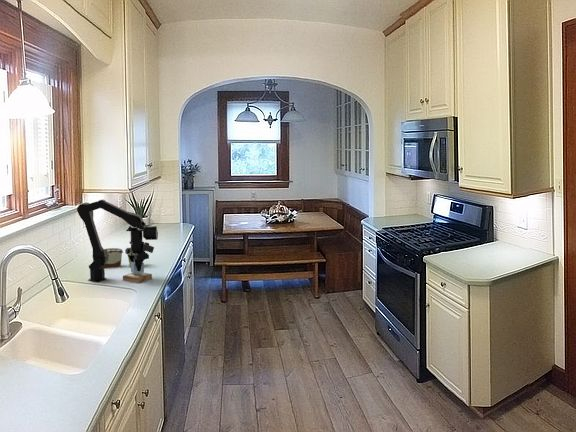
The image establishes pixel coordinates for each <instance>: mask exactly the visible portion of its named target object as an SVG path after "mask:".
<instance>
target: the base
mask: <svg viewBox="0 0 576 432" xmlns="http://www.w3.org/2000/svg"><path fill="white" fill-rule="evenodd" d="M152 279H153V274H152V273H149V272H144V273H136V274H134V273H132V272H131V273H128V274H125V275H122V282H123V281H124V282H130V283H134V284H141V283H143V282H145V281H146V282H147V281H149V280H152Z"/></svg>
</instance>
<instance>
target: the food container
mask: <svg viewBox="0 0 576 432" xmlns="http://www.w3.org/2000/svg"><path fill="white" fill-rule="evenodd" d="M106 249H107V252H108V255H109V256H108V261H107V262H106V263H105V264H104V266H103V267H104V269H113V268H121V267H122V258H123V257H122V256H123V254H124V250H123V249H122V248H120V247H119V248H117V247H112V248H111V247H110V248H106Z"/></svg>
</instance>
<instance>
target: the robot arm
mask: <svg viewBox="0 0 576 432" xmlns="http://www.w3.org/2000/svg"><path fill="white" fill-rule="evenodd" d="M99 209H102V210H103V211H106V212H108V213H110V214H112V215H114V216H116V217H118V218H120V219H122V220H123V221H124V222H125V223H127V224H128V225H129V226H128V227H127V229H126V230H125V231H126V232H130V240H129V241H128V243H129V244H130V247H127V248H125V249H124V250H125V254H126V255H127V254H128V253H129V255H127V258H128V257H129V259H130V261H131V262H135V265H136V268H137V270H138V271H140V270H141V266H142V263H144V261H145V260H149V259H150V255H149V253H150V254H153V252H154V249H155V246H152V245H150V243H149V242H146V241H147V240H148V241H149V240H150V241H151V240H154V241H157V240H158V238H159V232H158V227H157V226H156V225H153V226H148V225H147V224H146V222H145V221H144V219H143V216H142V215H141V214H138V213H135V212H131V211H127V210H124V209H123V208H121V207H119V206H116V205H114V204H112V203H110V202H108V201H107V200H105V199H99V200H97V201H94V202H91V203H90V202H83V203H80V204H79V205H78V206H77V207H76V212H77V214H78V216H79V218H80V219H81V221H82V222H83V223H84V227H85V229H86V233H87V236H88V238H89V242H90V245H91V248H92V262H91V263H90V264H89V265H88V268H89V275H90V278H89V279H87V281H89V280H90V281H89V282H95V281H96V282H97V283H98V282H103V281H105V280H107V279H108V278H107V277H106V276H105V275H106V273H105V268H104V267H103V266H104V264H105V263H106V262H107V261H108V256H109V255H108V252H107V249H108V248H103V246H102V243H101V240H100V237H99V233H98V230H97V228H96V225H95V221H94V211H96V210H99ZM143 239H145V242H144V241H143ZM129 259H128V260H129Z"/></svg>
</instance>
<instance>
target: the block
mask: <svg viewBox="0 0 576 432" xmlns="http://www.w3.org/2000/svg"><path fill="white" fill-rule="evenodd" d="M130 272H131V273H134V274H136V273H145V263H144V262H143V263H142V266H141V270H140V271H138V270H137V268H136V265H135V262H131V267H130Z"/></svg>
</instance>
